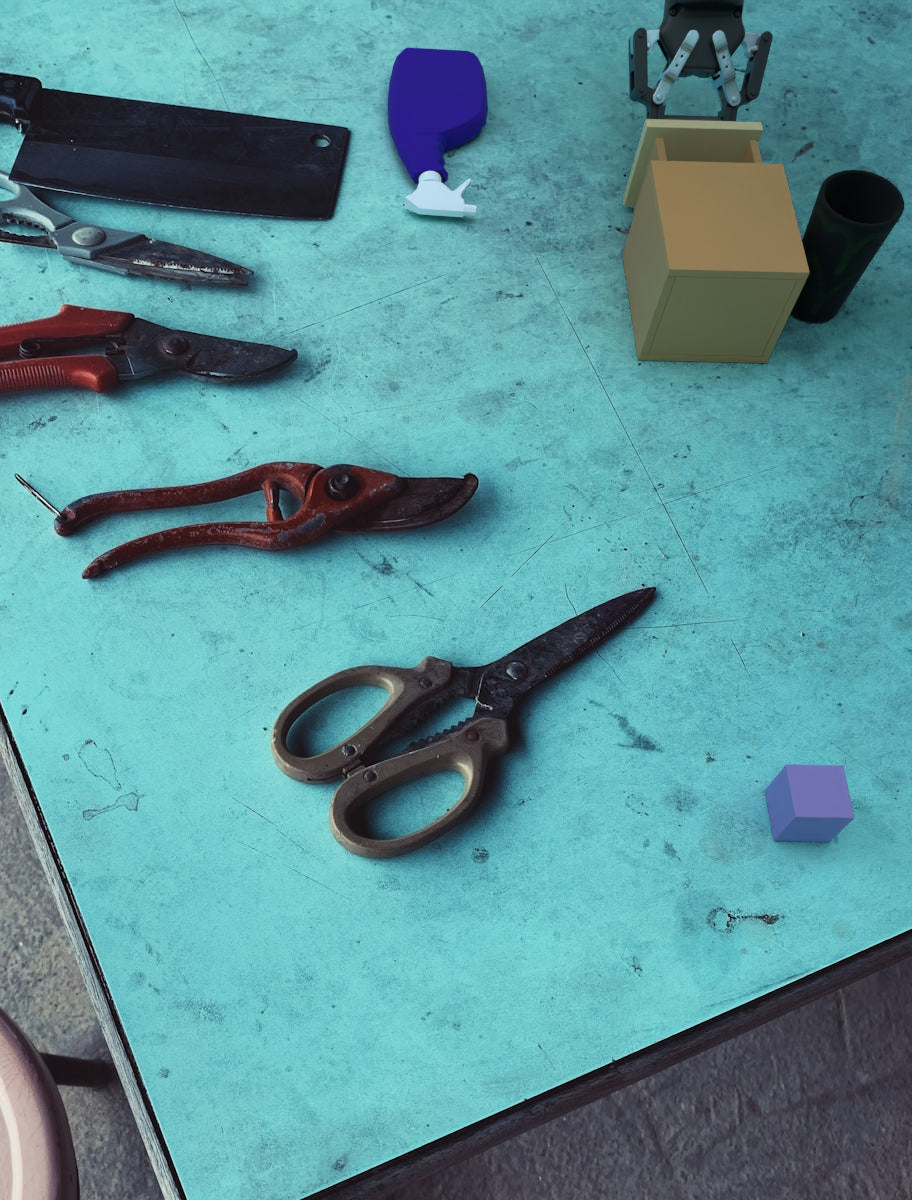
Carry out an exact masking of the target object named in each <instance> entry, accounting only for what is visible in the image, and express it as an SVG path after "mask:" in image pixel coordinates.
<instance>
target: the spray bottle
mask: <svg viewBox="0 0 912 1200" xmlns="http://www.w3.org/2000/svg"><path fill="white" fill-rule="evenodd" d="M388 83H389V84H388V93H387V122H388V127H389V133H390V136H391V138H392V141H393V144H394V146H395V149H396V151H397V155H398V156H399V158H400V160H401V162H402V164H403V166H404V168H405V169H406V172H407V173H408V175H409V176H410V178H411V180H412V181H413V183H414V184H417V187H416V189H415V190H414V191H413V192H412V193H410V194H407V195H406V196H405V197H404V206H403V208H404V209H405V210H407V211H410V212H413V213H415V214H417V215H424V216H438V217H451V218H452V217H453V218H464V217H476V215H477V207H478V206H477V205H474V204H467V203H465V199H464V198H463V196H464V193H465V192H466V190H467V188H468V187H469V186H470V184H471V183H472V179H470V178H468V179H466V180H465V181H463V182H462V183H461V184H460V185H458V187H456V188H455V189H454V190H452V189H450V188H449V187H448V186H447V185H446V184H445V183H446V182H447V181H448V180H449V172H448V171H447V169H446V168H445V165H446V160H445V158H444V156H445V152H447V151H450V150H453V149H455V148H458V147H460V146H462V145H465V144H467V143H470V142H471V141H472V140H473V139H475V138H476V137H477V136H479V134H480V133H481V131H482V130H483V128H485V126H486V123H487V119H488V112H489V101H488V87H487V80H486V75H485V70H484V67H483V65H482V63H481V61H480V59H479V57H478V56H477V55H476V53H475V52H472V51H469V50H461V49H443V48H425V47H423V48H422V47H405V48H404V49H402V50H401V52H400V53H398V54H397V56H396V58H395V59H394V62H393V65H392V68H391V73H390V79H389V82H388Z"/></svg>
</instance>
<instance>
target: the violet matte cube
mask: <svg viewBox="0 0 912 1200" xmlns="http://www.w3.org/2000/svg"><path fill="white" fill-rule="evenodd" d="M764 793H765V799H766V804H767V811H768V815H769V822H770V826H771V832H772V833H771V834H772V839H773V841H774V842H801V843H802V842H804V843H806V842H810V843H811V842H812V843H813V842H814V843H830V842H832V841H833V840H834V839H835V838H836V837H837V836H838V835H839V834H840V833H841V832H842V831H843V830H844V829H845V828H846V827H848V825H849V824H850V823H851V822H852V821H854V819H855V815H854V814H855V813H854V810H853V805H852V799H851V795H850V789H849V785H848V781H847V775H846V772H845V767H844V765H837V764H836V765H834V764H832V765H830V764H828V765H827V764H785V765H784V766H783V767H782V769H781V770H780V771H779V772H778V774H777V775H776V776H775V777H774V779H773V780H772V781H771V782H770V783H769V785H768V786H767V787H766V788H765V789H764Z"/></svg>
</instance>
